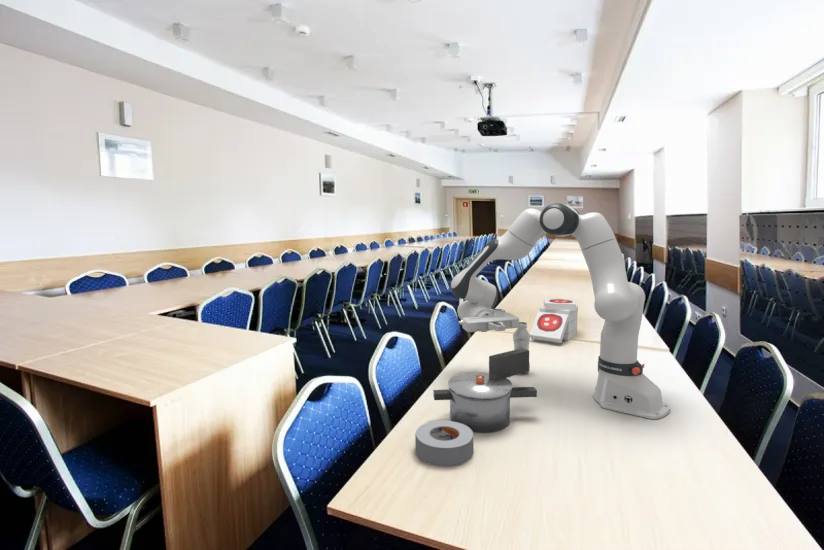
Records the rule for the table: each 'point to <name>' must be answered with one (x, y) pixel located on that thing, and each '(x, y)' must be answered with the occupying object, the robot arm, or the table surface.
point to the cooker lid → (491, 376)
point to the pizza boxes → (555, 320)
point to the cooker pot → (482, 409)
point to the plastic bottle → (521, 338)
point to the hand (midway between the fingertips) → (501, 328)
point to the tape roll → (444, 443)
